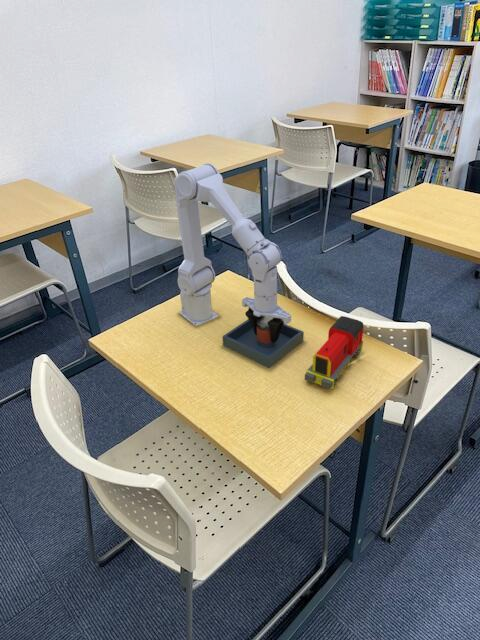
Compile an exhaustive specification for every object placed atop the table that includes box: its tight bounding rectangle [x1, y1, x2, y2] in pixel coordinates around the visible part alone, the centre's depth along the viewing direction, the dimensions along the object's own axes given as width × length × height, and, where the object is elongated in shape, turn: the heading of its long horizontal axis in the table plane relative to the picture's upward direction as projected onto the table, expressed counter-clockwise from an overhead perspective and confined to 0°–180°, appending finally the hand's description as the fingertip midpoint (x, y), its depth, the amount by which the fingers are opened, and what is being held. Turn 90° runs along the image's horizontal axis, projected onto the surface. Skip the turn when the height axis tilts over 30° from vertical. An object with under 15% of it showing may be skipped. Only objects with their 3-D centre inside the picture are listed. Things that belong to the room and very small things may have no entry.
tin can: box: [257, 316, 276, 348], centre depth 126 cm, size 5×5×7 cm
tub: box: [222, 318, 305, 369], centre depth 127 cm, size 16×15×4 cm
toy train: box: [304, 315, 364, 390], centre depth 116 cm, size 7×19×10 cm, turn 146°
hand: (266, 336), depth 127 cm, fingers closed on tin can, 5 cm apart
